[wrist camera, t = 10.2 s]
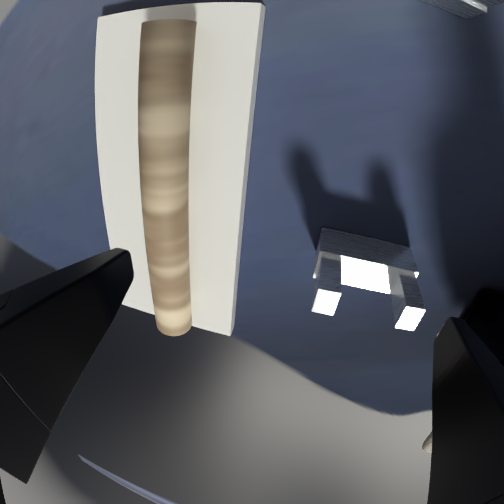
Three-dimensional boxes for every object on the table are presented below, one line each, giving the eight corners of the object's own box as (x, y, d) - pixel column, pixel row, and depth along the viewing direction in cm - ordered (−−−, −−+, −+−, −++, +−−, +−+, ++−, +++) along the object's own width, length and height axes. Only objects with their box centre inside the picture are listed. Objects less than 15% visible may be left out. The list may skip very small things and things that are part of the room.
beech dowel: (187, 307, 27) (196, 331, 25) (153, 313, 26) (160, 339, 23) (190, 25, 14) (202, 19, 12) (139, 26, 13) (143, 19, 11)
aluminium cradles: (400, 270, 21) (414, 333, 16) (315, 251, 21) (308, 313, 16) (467, -8, 9) (515, -29, 4) (364, -42, 10) (378, -86, 5)
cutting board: (234, 326, 28) (230, 336, 27) (127, 296, 29) (122, 304, 28) (265, 7, 13) (261, 3, 12) (108, 18, 15) (98, 17, 14)
